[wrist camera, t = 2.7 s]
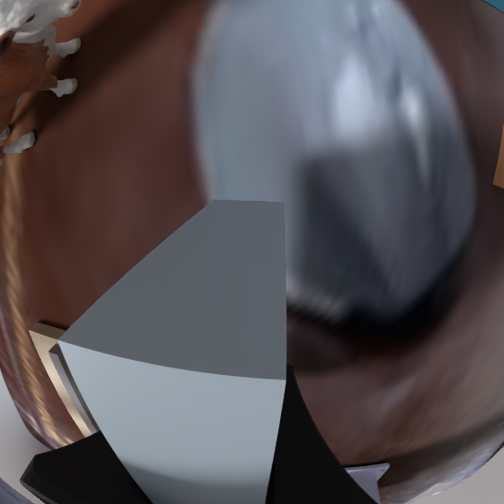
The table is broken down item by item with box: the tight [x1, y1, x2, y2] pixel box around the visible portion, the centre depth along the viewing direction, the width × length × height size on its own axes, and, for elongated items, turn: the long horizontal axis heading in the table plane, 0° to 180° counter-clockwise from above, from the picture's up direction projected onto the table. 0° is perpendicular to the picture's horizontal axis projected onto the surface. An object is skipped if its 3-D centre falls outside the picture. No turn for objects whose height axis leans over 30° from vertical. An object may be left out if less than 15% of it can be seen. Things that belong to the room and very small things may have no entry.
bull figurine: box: [0, 0, 81, 164], centre depth 8 cm, size 4×13×8 cm, turn 117°
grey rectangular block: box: [58, 200, 286, 504], centre depth 8 cm, size 12×2×8 cm, turn 178°
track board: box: [29, 322, 100, 438], centre depth 19 cm, size 18×12×2 cm, turn 179°
